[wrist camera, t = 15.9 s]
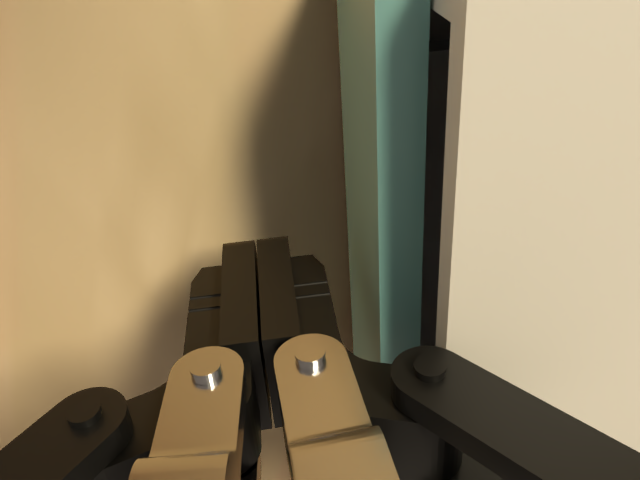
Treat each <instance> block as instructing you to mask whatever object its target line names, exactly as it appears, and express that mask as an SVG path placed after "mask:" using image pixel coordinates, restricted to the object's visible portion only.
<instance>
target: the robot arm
mask: <svg viewBox="0 0 640 480" xmlns="http://www.w3.org/2000/svg"><path fill="white" fill-rule="evenodd" d="M270 398H271V403H270ZM271 404H272V411H273V417H274V424H275V428H278V427H283V432H284V439H285V446H286V453H287V460H288V466H289V472H290V477H291V480H640V452H638V451H636V450H634V449H632V448H630V447H628V446H627V445H625V444H623V443H621V442H619V441H617V440H615V439H614V438H612V437H610V436H608V435H606V434H604V433H602V432H601V431H599V430H597V429H595V428H593V427H591V426H589V425H587V424H586V423H584V422H582V421H580V420H578V419H576V418H574V417H573V416H571V415H569V414H567V413H565V412H563V411H561V410H560V409H558V408H556V407H554V406H552V405H550V404H548V403H547V402H545V401H543V400H541V399H539V398H537V397H535V396H534V395H532V394H530V393H528V392H526V391H524V390H522V389H521V388H519V387H517V386H515V385H513V384H511V383H509V382H508V381H506V380H504V379H502V378H500V377H498V376H496V375H495V374H493V373H491V372H489V371H487V370H485V369H483V368H481V367H480V366H478V365H476V364H474V363H472V362H470V361H468V360H467V359H465V358H463V357H461V356H459V355H457V354H455V353H454V352H452V351H449V350H447V349H444V348H441V347H436V346H417V347H413V348H410V349H407V350H405V351H403V352H402V353H400V354H399V355H398V356H397V357H396V358H395V359H394V361H393V363H392V364H389V363H380V362H373V361H368V360H365V359H362V358H359V357H357V356H355V355H354V354H352V353H351V352H349V351H348V350H347V349H346V348H345V347H344V345H343V344H342V342H341V339H340V336H339V331H338V327H337V322H336V317H335V313H334V308H333V304H332V299H331V295H330V290H329V286H328V282H327V277H326V272H325V268H324V265H322V264H321V263H320V262H319V261H318V260H317V259H316V258H315V257H314V256H313V255H305V256H297V257H290V252H289V244H288V237H287V236H286V237H277V238H269V239H260V240H257V253H256V246H255V241H254V240H253V241H244V242H236V243H227V244H223V251H222V266H214V267H206V268H202V269H201V270H200V272H199V273H198V274H197V276H196V277H195V278H194V280H193V281H192V283H191V292H190V301H189V313H188V318H187V327H186V336H185V345H184V353H183V357H181V358H180V359H179V360H178V361H177V362H176V363H175V364H174V365H173V367H172V369H171V371H170V373H169V377H168V381H167V382H166V383H165V384H163V385H162V386H160V387H158V388H157V389H155V390H152V391H150V392H148V393H145V394H143V395H140V396H137V397H135V398H132V399H129V400H127V401H126V400H125V398H124V396H123V395H122V394H121V393H120V392H118V391H117V390H114V389H112V388H107V387H94V388H89V389H84V390H81V391H78V392H76V393H74V394H72V395H70V396H68V397H67V398H65V399H64V400H62V401H61V402H60V403H58V404H57V405H56V406H55V407H53V408H52V409H51V410H50V411H48V412H47V413H46V414H45V415H43V416H42V417H41V418H40V419H39V420H37V421H36V422H35V423H34V424H32V425H31V426H30V427H29V428H27V429H26V430H25V431H24V432H23V433H21V434H20V435H19V436H18V437H16V438H15V439H14V440H13V441H11V442H10V443H9V444H8V445H7V446H5V447H4V448H3V449H2V450H0V480H261V458H260V452H261V430H264V429H272V419H271Z"/></svg>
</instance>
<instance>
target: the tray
mask: <svg viewBox="0 0 640 480" xmlns="http://www.w3.org/2000/svg"><path fill="white" fill-rule="evenodd" d="M337 15H338V36H339V57H340V78H341V99H342V120H343V142H344V163H345V184H346V205H347V226H348V247H349V269H350V290H351V311H352V332H353V353H354V355H355V356H357V357H359V358H362V359H365V360H368V361H373V362H380V363H389V364H392V363H393V361H394V359H395V358H396V357H397V356H398V355H399V354H400V353H402V352H403V351H405V350H407V349H410V348H413V347H417V346H435V343H436V322H437V301H438V280H439V259H440V238H441V217H442V196H443V175H444V154H445V133H446V112H447V91H448V70H449V49H450V29H451V22H450V21H448V20H447V19H445V18H444V17H442V16H441V15H440V14H438V13H437V12H435V11H434V10H432V9H431V8H430V0H337Z"/></svg>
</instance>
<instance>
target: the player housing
mask: <svg viewBox="0 0 640 480" xmlns="http://www.w3.org/2000/svg"><path fill="white" fill-rule="evenodd" d="M430 8H431V9H432V10H434V11H435V12H437V13H438V14H440V15H441V16H442V17H444V18H445V19H447V20H448V21H450V22H451V29H450V49H449V70H448V91H447V112H446V133H445V154H444V175H443V196H442V217H441V238H440V259H439V280H438V301H437V322H436V343H435V346H436V347H441V348H444V349H447V350H449V351H452V352H454V353H455V354H457V355H459V356H461V357H463V358H465V359H467V360H468V361H470V362H472V363H474V364H476V365H478V366H480V367H481V368H483V369H485V370H487V371H489V372H491V373H493V374H495V375H496V376H498V377H500V378H502V379H504V380H506V381H508V382H509V383H511V384H513V385H515V386H517V387H519V388H521V389H522V390H524V391H526V392H528V393H530V394H532V395H534V396H535V397H537V398H539V399H541V400H543V401H545V402H547V403H548V404H550V405H552V406H554V407H556V408H558V409H560V410H561V411H563V412H565V413H567V414H569V415H571V416H573V417H574V418H576V419H578V420H580V421H582V422H584V423H586V424H587V425H589V426H591V427H593V428H595V429H597V430H599V431H601V432H602V433H604V434H606V435H608V436H610V437H612V438H614V439H615V440H617V441H619V442H621V443H623V444H625V445H627V446H628V447H630V448H632V449H634V450H636V451H638V452H640V0H430Z"/></svg>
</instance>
